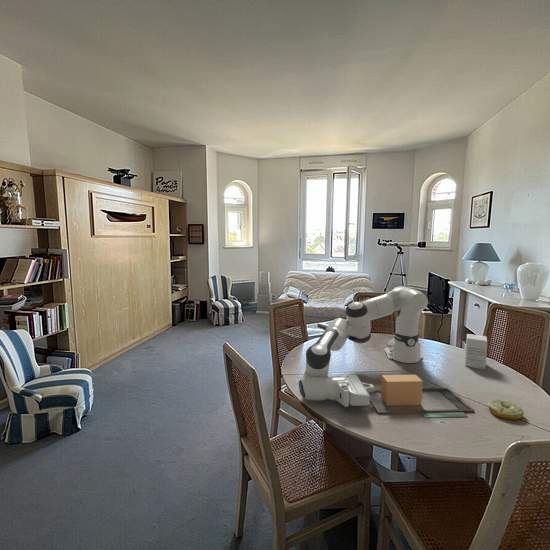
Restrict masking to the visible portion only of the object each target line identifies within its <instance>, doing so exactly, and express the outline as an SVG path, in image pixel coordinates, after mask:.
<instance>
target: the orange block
mask: <svg viewBox="0 0 550 550" xmlns="http://www.w3.org/2000/svg"><path fill="white" fill-rule="evenodd" d="M422 386H423V380H422V379H421V378H420V377H419V376H418V375H416V374H383V375H381V388H380V389H381V392H380V393H381V394H380V398H381V400H382V401H383V403H384V404H385V406H386V407H388V406H422V400H423V398H422V397H423V391H422Z"/></svg>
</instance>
